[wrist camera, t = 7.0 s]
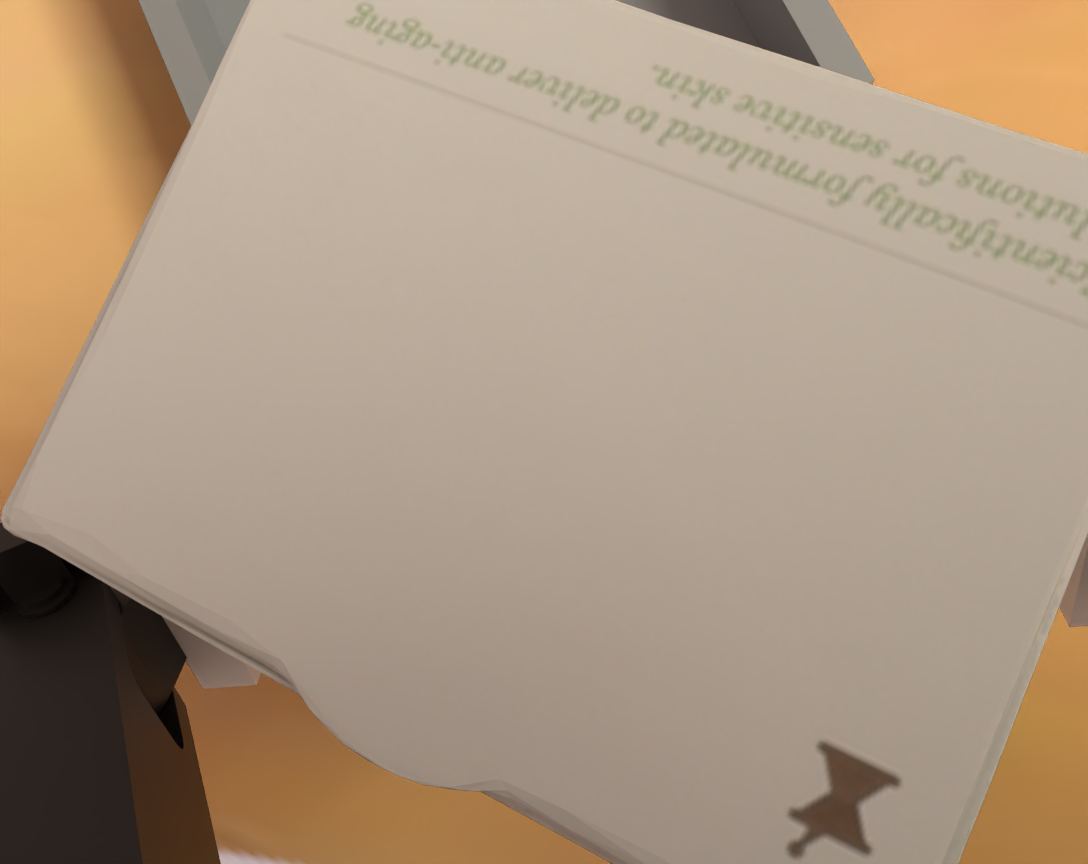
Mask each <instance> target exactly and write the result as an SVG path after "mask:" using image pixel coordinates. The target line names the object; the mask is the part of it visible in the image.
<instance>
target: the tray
mask: <svg viewBox="0 0 1088 864" xmlns="http://www.w3.org/2000/svg"><path fill="white" fill-rule="evenodd" d="M138 1H139V3H140V5H141V8H142V10H143V12H144V15H145V17H146V20H147V22H148V24H149V27H150V29H151V32H152V34H153V36H154V39H155V41H156V43H157V46H158V48H159V51H160V53H161V55H162V58H163V60H164V63H165V65H166V67H167V70H168V72H169V74H170V77H171V79H172V82H173V84H174V86H175V89H176V91H177V94H178V96H179V98H180V101H181V103H182V106H183V108H184V110H185V113H186V115H187V117H188V120H189V122H190V125H192V123H193V121H194V119H195V117H196V115H197V113H198V111H199V109H200V107H201V105H202V103H203V101H204V99H205V97H206V95H207V93H208V90H209V88H210V86H211V84H212V81H213V79H214V77H215V75H216V73H217V70H218V68H219V66H220V64H221V62H222V59H223V57H224V55H225V53H226V51H227V49H228V47H229V45H230V43H231V40H232V38H233V36H234V34H235V32H236V30H237V28H238V26H239V23H240V21H241V19H242V17H243V15H244V13H245V11H246V9H247V6H248V4H249V2H250V0H138ZM616 1H619V2H621V3H624V4H627V5H630V6H633V7H636V8H639V9H642V10H645V11H647V12H650V13H653V14H656V15H659V16H662V17H665V18H668V19H671V20H674V21H677V22H680V23H683V24H686V25H689V26H692V27H695V28H699V29H702V30H705V31H708V32H711V33H714V34H717V35H721V36H724V37H727V38H730V39H733V40H736V41H739V42H742V43H746V44H749V45H752V46H755V47H758V48H761V49H764V50H768V51H771V52H774V53H777V54H780V55H783V56H786V57H790V58H793V59H796V60H799V61H802V62H805V63H808V64H811V65H815V66H818V67H821V68H824V69H827V70H830V71H833V72H836V73H839V74H842V75H845V76H848V77H851V78H854V79H857V80H860V81H863V82H866V83H869V84H872V85H873V82H874V78H873V76H872V75H871V73H870V71H869V69H868V68H867V66H866V64H865V63H864V61H863V59H862V57H861V56H860V54H859V52H858V51H857V49H856V47H855V46H854V44H853V42H852V40H851V39H850V37H849V35H848V34H847V32H846V30H845V29H844V27H843V25H842V23H841V22H840V20H839V18H838V17H837V15H836V13H835V12H834V10H833V8H832V6H831V5H830V3H829V1H828V0H616Z"/></svg>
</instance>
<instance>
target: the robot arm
mask: <svg viewBox="0 0 1088 864" xmlns="http://www.w3.org/2000/svg"><path fill="white" fill-rule="evenodd" d="M1059 607H1060V609H1061V611H1062V613H1063V615H1064V617H1065V619H1066V621H1067V623H1068V625H1069V627H1075V626H1088V534H1087V536H1086V539H1085V542H1084V544H1083V547H1082V549H1081V552H1080V554H1079V557H1078V560H1077V562H1076V565H1075V567H1074V570H1073V573H1072V575H1071V578H1070V580H1069V583H1068V585H1067V588H1066V591H1065V593H1064V596H1063V598H1062V601H1061V603H1060V606H1059ZM185 661H186V662H187V664H188V665H189V667H190V669H191V670H192V672H193V673H194V675H195V677H196V678H197V680H198V682H199V683H200V685H201V687H202V688H203V689H210V688H224V687H238V686H252V685H257V683H258V680H259V678H260V675H261V672H259V671H257V670H255V669H254V668H252V667H250V666H248V665H247V664H245V663H243V662H241V661H240V660H238V659H236V658H234V657H233V656H231V655H229V654H227V653H226V652H224V651H222V650H220V649H219V648H217V647H215V646H213V645H212V644H210V643H208V642H206V641H205V640H203V639H201V638H199V637H198V636H196V635H194V634H192V633H191V632H189V631H187V630H185V629H184V628H182V627H180V626H178V625H177V624H175V623H173V622H172V621H170V620H168V619H166V618H165V617H163V616H161V615H159V614H158V613H156V612H154V611H153V610H151V609H149V608H147V607H146V606H144V605H142V604H140V603H139V602H137V601H135V600H134V599H132V598H130V597H128V596H127V595H125V594H123V593H121V592H120V591H118V590H116V589H115V588H113V587H111V586H109V585H108V584H106V583H104V582H102V581H101V580H99V579H97V578H96V577H94V576H92V575H90V574H89V573H87V572H85V571H84V570H82V569H80V568H78V567H77V566H75V565H73V564H71V563H70V562H68V561H66V560H65V559H63V558H61V557H59V556H58V555H56V554H54V553H52V552H51V551H49V550H47V549H46V548H44V547H42V546H40V545H37V544H35V543H32V542H30V541H27V540H25V539H22V538H20V537H17V536H15V535H13V534H11V533H10V532H9V531H8V530H6V529H5V528H4V527H3V524H2V522H1V523H0V864H221V863H220V859H219V854H218V850H217V845H216V841H215V836H214V832H213V827H212V823H211V818H210V813H209V809H208V804H207V800H206V795H205V791H204V786H203V782H202V777H201V773H200V768H199V764H198V759H197V755H196V750H195V746H194V741H193V736H192V732H191V727H190V723H189V718H188V714H187V709H186V706H185V704H184V702H183V700H182V699H181V697H180V695H179V694H178V692H177V691H176V689H175V688H174V685H175V683H176V681H177V679H178V676H179V674H180V672H181V670H182V667H183V665H184V663H185Z"/></svg>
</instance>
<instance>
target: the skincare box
mask: <svg viewBox="0 0 1088 864" xmlns="http://www.w3.org/2000/svg"><path fill="white" fill-rule="evenodd" d="M1 522H2V524H3V527H4V528H5V529H6V530H8V531H9V532H10V533H11V534H13V535H15V536H17V537H20V538H22V539H25V540H27V541H30V542H32V543H35V544H37V545H40V546H42V547H44V548H46V549H47V550H49V551H51V552H52V553H54V554H56V555H58V556H59V557H61V558H63V559H65V560H66V561H68V562H70V563H71V564H73V565H75V566H77V567H78V568H80V569H82V570H84V571H85V572H87V573H89V574H90V575H92V576H94V577H96V578H97V579H99V580H101V581H102V582H104V583H106V584H108V585H109V586H111V587H113V588H115V589H116V590H118V591H120V592H121V593H123V594H125V595H127V596H128V597H130V598H132V599H134V600H135V601H137V602H139V603H140V604H142V605H144V606H146V607H147V608H149V609H151V610H153V611H154V612H156V613H158V614H159V615H161V616H163V617H165V618H166V619H168V620H170V621H172V622H173V623H175V624H177V625H178V626H180V627H182V628H184V629H185V630H187V631H189V632H191V633H192V634H194V635H196V636H198V637H199V638H201V639H203V640H205V641H206V642H208V643H210V644H212V645H213V646H215V647H217V648H219V649H220V650H222V651H224V652H226V653H227V654H229V655H231V656H233V657H234V658H236V659H238V660H240V661H241V662H243V663H245V664H247V665H248V666H250V667H252V668H254V669H255V670H257V671H259V672H261V673H262V674H264V675H266V676H268V677H269V678H271V679H273V680H275V681H276V682H278V683H280V684H282V685H283V686H285V687H287V688H289V689H290V690H292V691H294V692H296V693H297V694H299V695H300V696H301V698H302V699H303V701H304V702H305V704H306V705H307V706H308V708H309V709H310V711H311V712H312V713H313V714H314V715H315V716H316V717H317V718H318V720H319V721H320V722H321V723H322V724H323V725H324V726H325V727H326V728H327V729H328V730H329V731H330V732H331V733H332V734H333V735H334V736H335V737H336V738H338V739H339V740H340V741H341V742H342V743H343V744H344V745H345V746H347V747H348V748H350V749H351V750H353V751H354V752H356V753H357V754H359V755H360V756H362V757H363V758H365V759H366V760H368V761H370V762H372V763H374V764H375V765H377V766H379V767H381V768H383V769H385V770H387V771H389V772H392V773H394V774H396V775H398V776H400V777H403V778H406V779H409V780H411V781H414V782H417V783H420V784H423V785H426V786H435V787H441V788H446V789H454V790H462V791H481V792H482V793H484V794H486V795H488V796H490V797H492V798H493V799H495V800H497V801H499V802H501V803H503V804H504V805H506V806H508V807H510V808H512V809H514V810H515V811H517V812H519V813H521V814H523V815H525V816H526V817H528V818H530V819H532V820H534V821H536V822H537V823H539V824H541V825H543V826H545V827H546V828H548V829H550V830H552V831H554V832H556V833H557V834H559V835H561V836H563V837H565V838H567V839H568V840H570V841H572V842H574V843H576V844H578V845H579V846H581V847H583V848H585V849H587V850H589V851H590V852H592V853H594V854H596V855H598V856H600V857H601V858H603V859H605V860H607V861H609V862H611V863H612V864H958V863H959V861H960V858H961V856H962V853H963V851H964V848H965V846H966V843H967V841H968V838H969V836H970V833H971V831H972V828H973V826H974V823H975V821H976V818H977V816H978V813H979V811H980V808H981V806H982V803H983V801H984V798H985V796H986V793H987V791H988V788H989V786H990V784H991V781H992V778H993V776H994V773H995V771H996V768H997V765H998V763H999V760H1000V758H1001V755H1002V752H1003V750H1004V747H1005V745H1006V742H1007V739H1008V737H1009V734H1010V732H1011V729H1012V726H1013V724H1014V721H1015V719H1016V716H1017V713H1018V711H1019V708H1020V705H1021V703H1022V700H1023V698H1024V695H1025V692H1026V690H1027V687H1028V685H1029V682H1030V680H1031V677H1032V674H1033V672H1034V669H1035V667H1036V664H1037V662H1038V659H1039V657H1040V654H1041V652H1042V649H1043V647H1044V644H1045V641H1046V639H1047V636H1048V634H1049V631H1050V629H1051V626H1052V624H1053V621H1054V619H1055V616H1056V613H1057V611H1058V608H1059V606H1060V603H1061V601H1062V598H1063V596H1064V593H1065V591H1066V588H1067V585H1068V583H1069V580H1070V578H1071V575H1072V573H1073V570H1074V567H1075V565H1076V562H1077V560H1078V557H1079V554H1080V552H1081V549H1082V547H1083V544H1084V542H1085V539H1086V536H1087V534H1088V154H1086V153H1083V152H1080V151H1077V150H1073V149H1070V148H1067V147H1063V146H1060V145H1057V144H1054V143H1050V142H1047V141H1044V140H1040V139H1037V138H1034V137H1031V136H1028V135H1024V134H1021V133H1018V132H1015V131H1012V130H1009V129H1006V128H1003V127H1000V126H996V125H993V124H990V123H987V122H984V121H981V120H978V119H975V118H972V117H969V116H966V115H963V114H960V113H957V112H954V111H951V110H948V109H945V108H942V107H939V106H936V105H933V104H930V103H927V102H924V101H921V100H918V99H915V98H912V97H909V96H906V95H902V94H899V93H896V92H893V91H890V90H887V89H884V88H881V87H878V86H875V85H872V84H869V83H866V82H863V81H860V80H857V79H854V78H851V77H848V76H845V75H842V74H839V73H836V72H833V71H830V70H827V69H824V68H821V67H818V66H815V65H811V64H808V63H805V62H802V61H799V60H796V59H793V58H790V57H786V56H783V55H780V54H777V53H774V52H771V51H768V50H764V49H761V48H758V47H755V46H752V45H749V44H746V43H742V42H739V41H736V40H733V39H730V38H727V37H724V36H721V35H717V34H714V33H711V32H708V31H705V30H702V29H699V28H695V27H692V26H689V25H686V24H683V23H680V22H677V21H674V20H671V19H668V18H665V17H662V16H659V15H656V14H653V13H650V12H647V11H645V10H642V9H639V8H636V7H633V6H630V5H627V4H624V3H621V2H619V1H616V0H250V2H249V4H248V6H247V9H246V11H245V13H244V15H243V17H242V19H241V21H240V23H239V26H238V28H237V30H236V32H235V34H234V36H233V38H232V40H231V43H230V45H229V47H228V49H227V51H226V53H225V55H224V57H223V59H222V62H221V64H220V66H219V68H218V70H217V73H216V75H215V77H214V79H213V81H212V84H211V86H210V88H209V90H208V93H207V95H206V97H205V99H204V101H203V103H202V105H201V107H200V109H199V111H198V113H197V115H196V117H195V119H194V121H193V123H192V125H191V127H190V130H189V132H188V134H187V136H186V138H185V140H184V142H183V144H182V146H181V148H180V150H179V152H178V154H177V156H176V158H175V160H174V162H173V164H172V166H171V168H170V170H169V172H168V174H167V176H166V178H165V180H164V182H163V184H162V186H161V188H160V190H159V192H158V195H157V197H156V199H155V201H154V203H153V205H152V207H151V209H150V211H149V213H148V215H147V217H146V219H145V221H144V223H143V225H142V227H141V229H140V231H139V233H138V235H137V237H136V239H135V241H134V243H133V245H132V247H131V250H130V252H129V254H128V256H127V258H126V260H125V262H124V264H123V266H122V268H121V270H120V272H119V274H118V276H117V278H116V280H115V282H114V284H113V286H112V288H111V290H110V292H109V294H108V297H107V299H106V301H105V303H104V305H103V307H102V309H101V311H100V313H99V315H98V317H97V319H96V321H95V323H94V325H93V327H92V329H91V331H90V333H89V335H88V337H87V339H86V341H85V344H84V346H83V348H82V350H81V352H80V354H79V356H78V358H77V360H76V362H75V364H74V366H73V368H72V370H71V372H70V374H69V376H68V378H67V380H66V382H65V384H64V386H63V388H62V391H61V393H60V395H59V397H58V399H57V401H56V403H55V405H54V407H53V409H52V411H51V413H50V415H49V417H48V419H47V421H46V423H45V426H44V428H43V430H42V432H41V434H40V436H39V438H38V440H37V442H36V444H35V446H34V448H33V450H32V452H31V454H30V456H29V458H28V461H27V463H26V465H25V466H24V468H23V470H22V472H21V474H20V476H19V478H18V480H17V482H16V484H15V486H14V488H13V490H12V492H11V494H10V496H9V498H8V499H7V501H6V503H5V505H4V507H3V510H2V515H1Z"/></svg>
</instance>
